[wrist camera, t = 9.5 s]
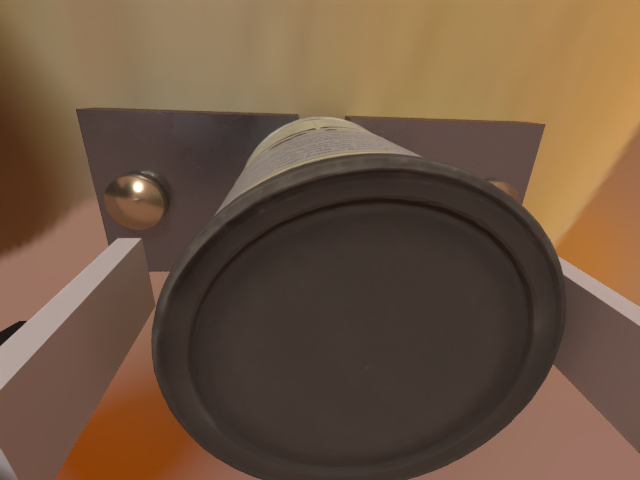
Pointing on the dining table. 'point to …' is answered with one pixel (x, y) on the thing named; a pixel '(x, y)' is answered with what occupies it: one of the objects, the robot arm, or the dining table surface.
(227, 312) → the coffee can
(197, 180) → the left end plate
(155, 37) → the dining table surface
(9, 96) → the dining table surface
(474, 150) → the right end plate
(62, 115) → the dining table surface
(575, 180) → the dining table surface
